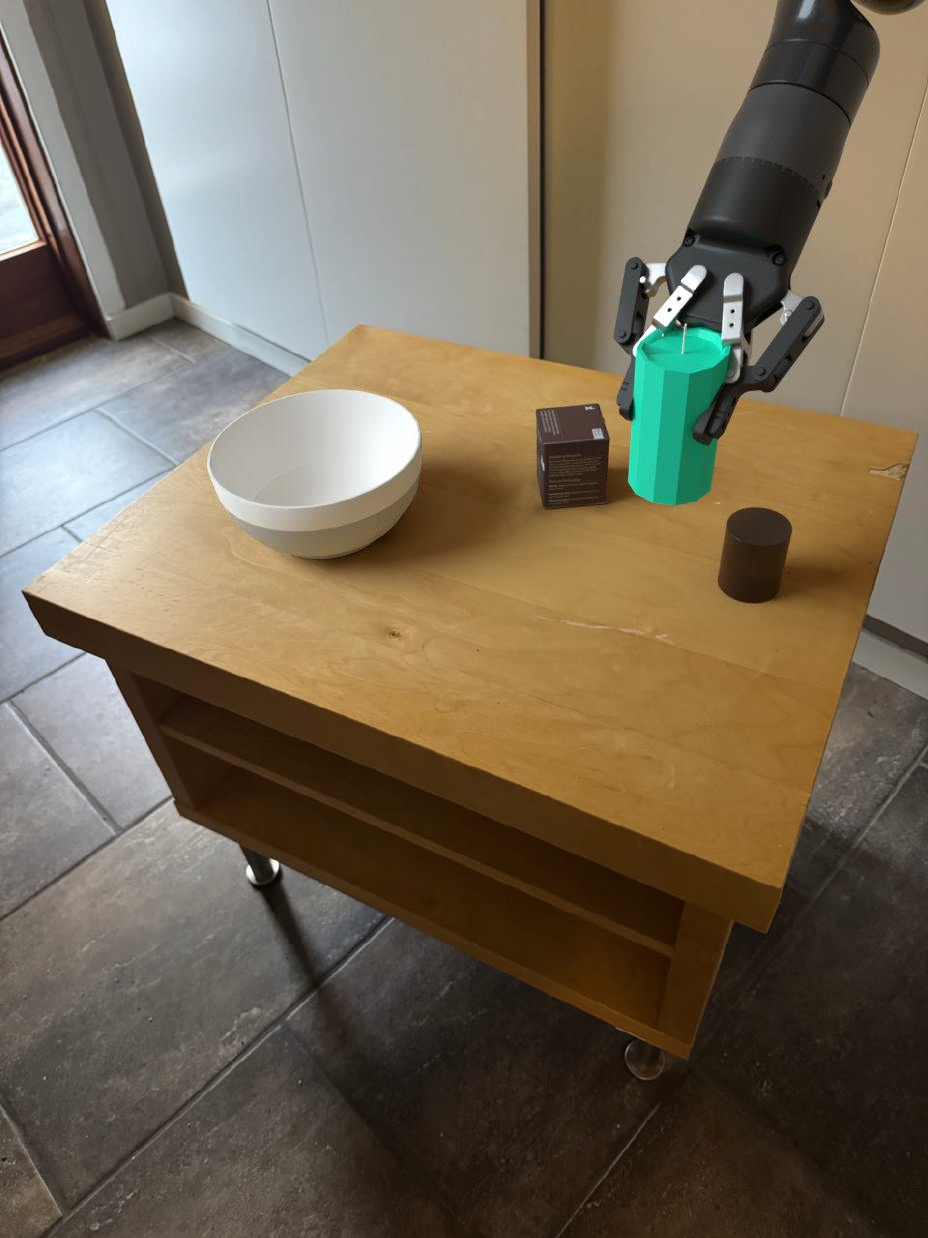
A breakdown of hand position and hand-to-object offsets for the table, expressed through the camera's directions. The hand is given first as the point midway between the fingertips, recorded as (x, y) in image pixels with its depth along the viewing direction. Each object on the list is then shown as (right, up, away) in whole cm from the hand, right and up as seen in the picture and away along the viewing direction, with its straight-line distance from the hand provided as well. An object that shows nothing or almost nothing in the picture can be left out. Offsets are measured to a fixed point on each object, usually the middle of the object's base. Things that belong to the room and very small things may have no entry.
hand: (663, 428), depth 62 cm
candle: (+1, -3, +5) cm, 6 cm away
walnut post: (+10, -10, +15) cm, 21 cm away
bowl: (-26, -4, +25) cm, 36 cm away
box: (-3, 0, +27) cm, 27 cm away
